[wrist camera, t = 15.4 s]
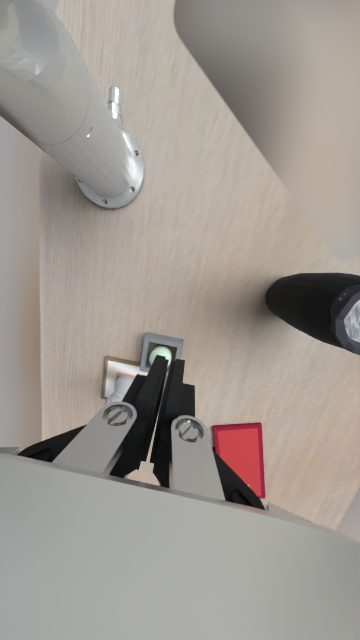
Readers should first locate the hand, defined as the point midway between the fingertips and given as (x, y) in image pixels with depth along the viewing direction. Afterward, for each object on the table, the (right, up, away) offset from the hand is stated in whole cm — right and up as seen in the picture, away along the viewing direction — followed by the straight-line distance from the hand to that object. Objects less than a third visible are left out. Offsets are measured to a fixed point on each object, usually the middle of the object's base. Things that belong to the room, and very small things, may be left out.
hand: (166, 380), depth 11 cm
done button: (-3, -4, +31) cm, 31 cm away
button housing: (-3, -4, +31) cm, 32 cm away
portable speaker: (+22, +8, +27) cm, 35 cm away
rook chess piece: (-12, -11, +33) cm, 37 cm away
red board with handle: (+14, -36, +39) cm, 55 cm away
